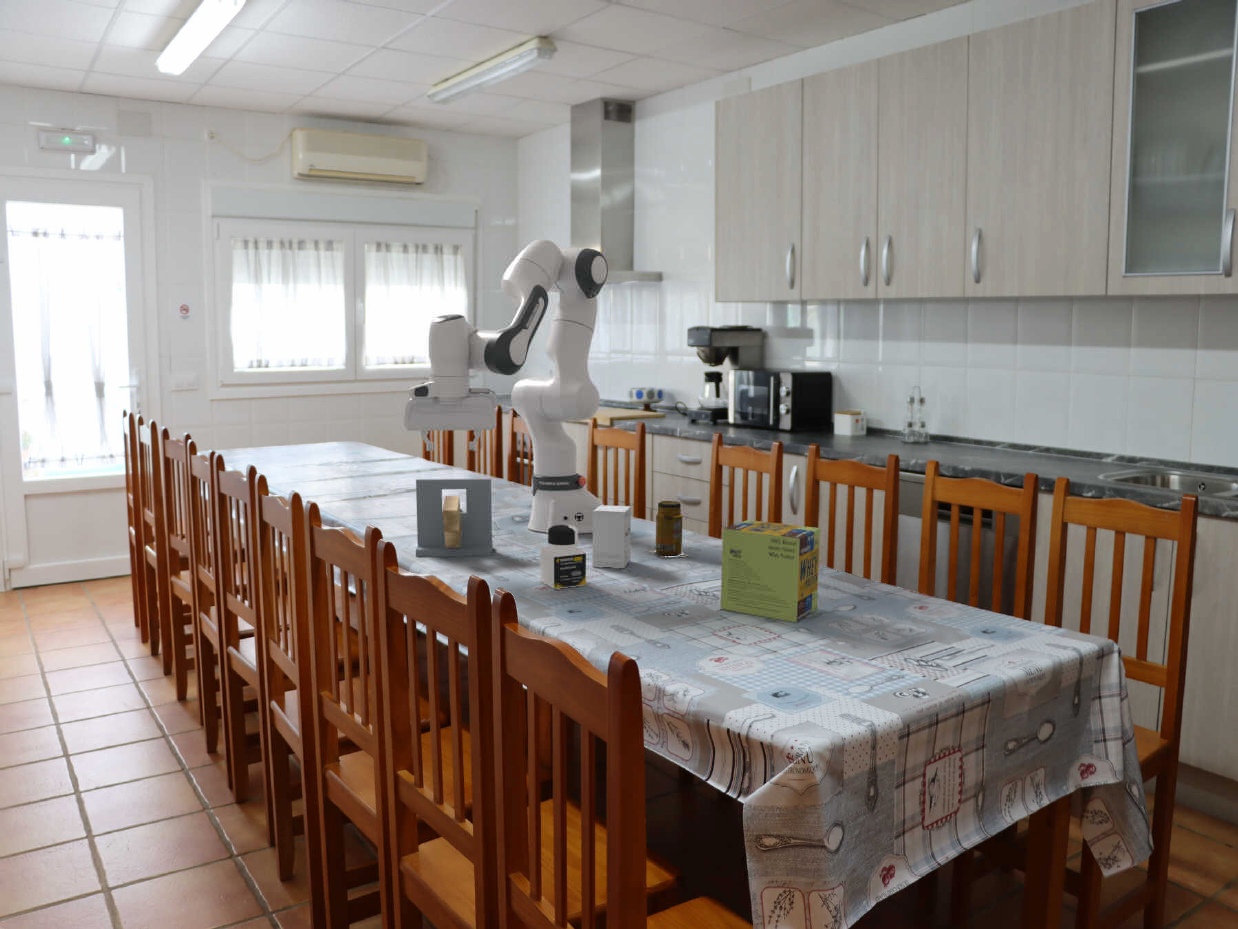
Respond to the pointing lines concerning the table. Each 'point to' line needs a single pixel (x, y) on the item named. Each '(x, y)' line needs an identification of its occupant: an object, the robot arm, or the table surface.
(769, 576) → the protein box
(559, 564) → the medicine bottle
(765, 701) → the table surface
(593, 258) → the robot arm
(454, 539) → the hanger block
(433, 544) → the slate keyhole board
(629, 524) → the supplement box
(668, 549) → the condiment
